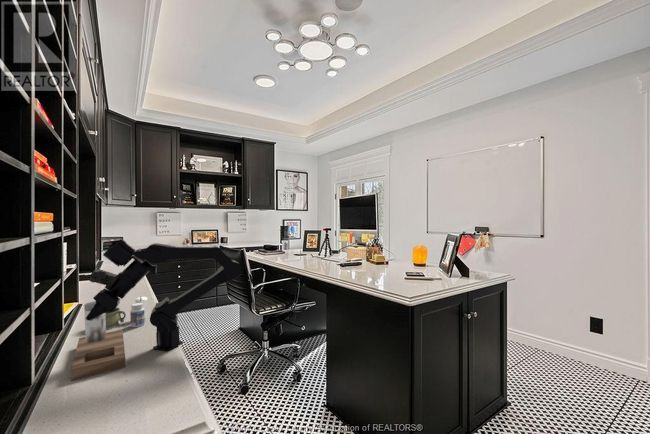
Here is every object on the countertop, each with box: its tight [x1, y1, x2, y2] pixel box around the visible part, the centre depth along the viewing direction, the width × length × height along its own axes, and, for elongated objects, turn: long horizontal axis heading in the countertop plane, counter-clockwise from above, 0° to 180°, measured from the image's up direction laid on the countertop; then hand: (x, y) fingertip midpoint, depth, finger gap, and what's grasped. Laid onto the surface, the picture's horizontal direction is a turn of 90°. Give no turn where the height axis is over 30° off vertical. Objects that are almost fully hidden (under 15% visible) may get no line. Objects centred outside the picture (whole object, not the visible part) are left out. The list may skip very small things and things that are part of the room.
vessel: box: [105, 306, 127, 330], centre depth 122 cm, size 12×9×6 cm
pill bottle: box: [129, 303, 146, 328], centre depth 122 cm, size 5×5×8 cm
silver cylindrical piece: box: [83, 300, 107, 343], centre depth 94 cm, size 5×5×11 cm
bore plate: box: [70, 329, 126, 381], centre depth 96 cm, size 26×12×3 cm, turn 35°
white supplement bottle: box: [134, 296, 149, 320], centre depth 130 cm, size 4×5×10 cm
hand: (89, 316), depth 93 cm, fingers closed on silver cylindrical piece, 5 cm apart
